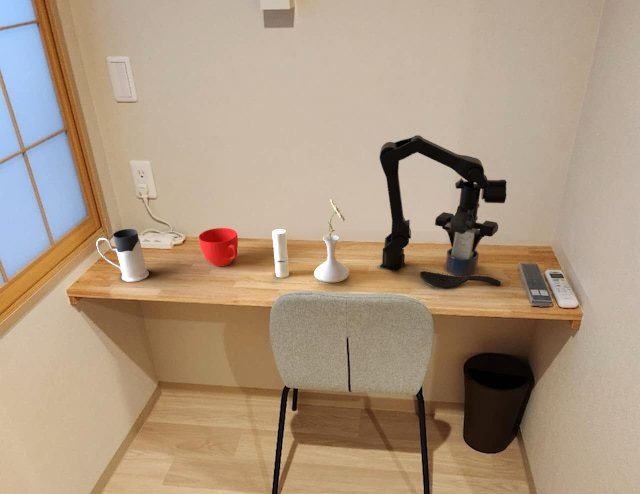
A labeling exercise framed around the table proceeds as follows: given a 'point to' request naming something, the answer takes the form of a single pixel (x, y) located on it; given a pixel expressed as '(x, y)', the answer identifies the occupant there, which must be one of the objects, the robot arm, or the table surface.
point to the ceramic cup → (219, 245)
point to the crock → (461, 264)
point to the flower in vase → (331, 257)
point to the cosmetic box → (463, 244)
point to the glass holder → (128, 255)
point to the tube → (280, 252)
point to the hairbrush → (453, 279)
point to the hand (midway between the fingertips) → (462, 249)
